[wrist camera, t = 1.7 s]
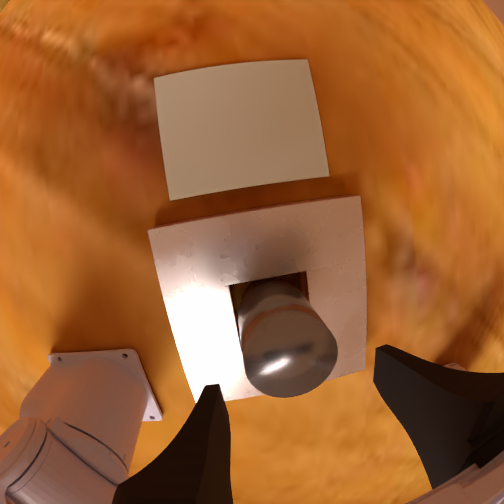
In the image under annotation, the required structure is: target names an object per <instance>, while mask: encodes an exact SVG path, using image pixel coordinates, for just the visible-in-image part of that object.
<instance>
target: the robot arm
mask: <svg viewBox="0 0 504 504" xmlns="http://www.w3.org/2000/svg"><path fill="white" fill-rule="evenodd" d="M124 354H127V355H128V356H125V355H124ZM60 358H61V359H62V360H61V359H60ZM48 359H49V362H50V364H51V366H50V367H49V368H48V369H47V371H46V372H45V373H44V374H43V375H42V377H41V378H40V379H39V380H38V382H37V383H36V384H35V385H34V387H33V388H32V389H31V390H30V392H29V393H28V394H27V396H26V397H25V398H24V400H23V402H22V405H21V409H20V419H19V420H17V421H16V422H14V423H13V424H12V425H11V426H10V427H9V428H8V429H7V430H6V431H5V432H4V433H3V434H2V435H1V436H0V504H233V498H232V490H231V481H230V449H231V432H230V423H229V415H228V412H227V408H226V405H225V402H224V398H223V395H222V391H221V388H220V384H219V383H218V384H210V385H205V386H204V388H203V390H202V392H201V395H200V397H199V399H198V401H197V403H196V405H195V407H194V408H193V410H192V412H191V414H190V416H189V417H188V419H187V421H186V422H185V424H184V425H183V427H182V428H181V430H180V431H179V433H178V434H177V435H176V437H175V438H174V439H173V440H172V441H171V443H170V444H169V445H168V446H167V447H166V448H165V449H164V450H163V451H162V453H161V454H160V455H159V456H158V457H156V458H155V459H154V460H153V461H152V462H151V463H150V464H148V465H147V466H146V467H145V468H143V469H142V470H141V471H139V472H138V473H137V474H135V475H133V476H132V477H129V476H128V474H129V470H130V466H131V462H132V458H133V454H134V450H135V446H136V442H137V439H138V435H139V431H140V428H141V424H142V421H160V420H162V419H163V414H162V412H161V410H160V408H159V405H158V403H157V401H156V399H155V396H154V394H153V392H152V390H151V387H150V385H149V382H148V380H147V378H146V375H145V373H144V370H143V368H142V365H141V362H140V360H139V357H138V355H137V352H136V351H135V350H134V349H130V348H129V349H117V350H104V351H89V352H69V353H50V354H49V355H48ZM373 382H374V384H375V386H376V388H377V390H378V391H379V393H380V395H381V397H382V398H383V400H384V401H385V403H386V404H387V405H388V407H389V408H390V409H391V411H392V412H393V413H394V415H395V416H396V418H397V419H398V420H399V422H400V423H401V424H402V426H403V427H404V429H405V430H406V432H407V433H408V435H409V437H410V439H411V440H412V442H413V444H414V446H415V448H416V450H417V452H418V454H419V456H420V459H421V461H422V463H423V465H424V468H425V470H426V473H427V475H428V478H429V481H430V484H431V487H432V490H431V491H429V492H428V493H426V494H424V495H422V496H420V497H418V498H416V499H414V500H412V501H410V502H408V503H406V504H500V503H501V502H502V501H503V500H504V373H477V372H469V371H462V370H457V369H452V368H448V367H444V366H441V365H438V364H435V363H432V362H429V361H426V360H424V359H421V358H419V357H416V356H414V355H411V354H409V353H407V352H404V351H402V350H400V349H398V348H395V347H393V346H390V345H387V344H386V345H383V346H380V347H377V348H376V353H375V367H374V379H373ZM152 416H154V417H152Z"/></svg>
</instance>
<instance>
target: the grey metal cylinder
mask: <svg viewBox="0 0 504 504" xmlns="http://www.w3.org/2000/svg"><path fill="white" fill-rule="evenodd" d="M238 324H239V332H240V339H241V347H242V354H243V362H244V369H245V373H246V376H247V378H248V380H249V382H250V383H251V384H252V385H253V386H254V387H255V388H256V389H257V390H258V391H260V392H262V393H264V394H266V395H269V396H273V397H282V398H286V397H294V396H299V395H302V394H305V393H307V392H309V391H311V390H313V389H315V388H316V387H318V386H319V385H320V384H322V383H323V382H324V381H325V380H326V379H327V377H328V376H329V375H330V374H331V372H332V371H333V369H334V367H335V364H336V361H337V357H338V346H337V342H336V339H335V337H334V336H333V334H332V333H331V331H330V330H329V329H328V327H327V326H326V324H325V323H324V322H323V320H322V319H321V318H320V316H319V315H318V314H317V312H316V311H315V310H314V308H313V307H312V306H311V304H310V303H309V302H308V300H307V299H306V298H305V296H304V295H303V294H302V293H301V292H300V290H298V289H297V288H296V287H294V286H293V285H290V284H288V283H286V282H285V281H283V280H281V279H279V278H275V277H270V278H264V279H259V280H256V281H254V282H253V283H251V284H250V285H249V286H248V287H247V289H246V290H245V292H244V294H243V297H242V302H241V304H240V306H239V310H238Z"/></svg>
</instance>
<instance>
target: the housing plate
mask: <svg viewBox="0 0 504 504" xmlns="http://www.w3.org/2000/svg"><path fill="white" fill-rule="evenodd" d="M148 235H149V240H150V244H151V249H152V253H153V258H154V262H155V267H156V271H157V275H158V279H159V283H160V287H161V291H162V295H163V299H164V303H165V306H166V310H167V314H168V317H169V321H170V324H171V328H172V331H173V335H174V338H175V341H176V345H177V348H178V351H179V354H180V358H181V361H182V364H183V367H184V370H185V373H186V376H187V379H188V382H189V385H190V388H191V390H192V393H193V396H194V399H195V401H196V403H197V401H198V399H199V397H200V395H201V392H202V390H203V388H204V386H205V385H210V384H218V383H219V384H220V388H221V391H222V395H223V398H224V401H229V400H236V399H242V398H248V397H254V396H260V395H265V394H264V393H262V392H260V391H258V390H257V389H256V388H255V387H254V386H253V385H252V384H251V383H250V382H249V380H248V378H247V376H246V373H245V369H244V362H243V354H242V347H241V339H240V338H239V333H238V328H237V323H236V318H235V313H234V308H233V302H232V297H231V292H230V287H229V285H231V284H236V283H242V282H248V281H253V280H259V279H264V278H270V277H275V276H281V275H286V274H292V273H297V272H300V277H301V287H302V294H303V295H304V296H305V298H306V299H307V300H308V302H309V303H310V304H311V306H312V307H313V308H314V310H315V311H316V312H317V314H318V315H319V316H320V318H321V319H322V320H323V322H324V323H325V324H326V326H327V327H328V329H329V330H330V331H331V333H332V334H333V336H334V337H335V339H336V342H337V346H338V357H337V361H336V364H335V367H334V369H333V371H332V372H331V374H330V375H329V376H328V377H327V379H326V380H325V381H327V380H331V379H334V378H338V377H341V376H345V375H348V374H351V373H355V372H358V371H361V370H364V369H365V361H366V333H367V288H366V260H365V242H364V229H363V217H362V206H361V197H360V196H357V195H343V196H335V197H327V198H320V199H312V200H305V201H298V202H291V203H284V204H278V205H271V206H265V207H258V208H252V209H246V210H240V211H234V212H228V213H222V214H216V215H210V216H205V217H199V218H194V219H188V220H183V221H178V222H172V223H167V224H162V225H157V226H154V227H152V228H150V229H148Z"/></svg>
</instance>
